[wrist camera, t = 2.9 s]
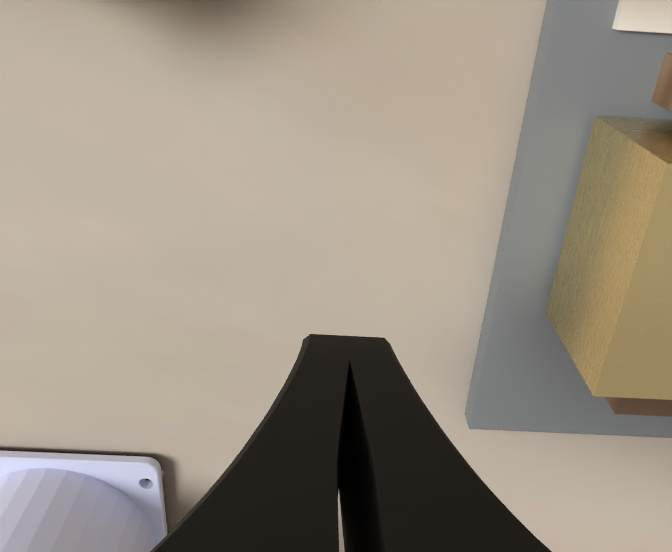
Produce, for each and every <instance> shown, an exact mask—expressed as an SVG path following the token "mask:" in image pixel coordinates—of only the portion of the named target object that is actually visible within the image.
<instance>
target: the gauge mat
mask: <svg viewBox="0 0 672 552" xmlns="http://www.w3.org/2000/svg"><path fill="white" fill-rule="evenodd" d="M618 3H619V0H547V4H546V9H545V14H544V19H543V24H542V29H541V34H540V39H539V44H538V49H537V54H536V59H535V64H534V69H533V74H532V79H531V84H530V89H529V94H528V99H527V104H526V109H525V114H524V119H523V124H522V129H521V134H520V139H519V144H518V149H517V155H516V160H515V165H514V170H513V175H512V180H511V185H510V190H509V195H508V200H507V205H506V210H505V215H504V220H503V225H502V230H501V235H500V240H499V245H498V250H497V255H496V260H495V265H494V270H493V275H492V280H491V285H490V290H489V295H488V300H487V305H486V310H485V315H484V320H483V325H482V330H481V335H480V341H479V346H478V351H477V356H476V361H475V366H474V371H473V376H472V381H471V386H470V391H469V396H468V401H467V406H466V411H465V415H466V419H467V423H468V426H469V429H484V430H507V431H529V432H552V433H574V434H597V435H620V436H642V437H665V438H672V417H667V416H645V415H623V414H614V412H613V410H612V409H611V407H610V405H609V403H608V402H607V400H606V398H605V397H598V396H593V395H592V393H591V391H590V390H589V388H588V386H587V384H586V383H585V381H584V379H583V377H582V376H581V374H580V372H579V370H578V369H577V367H576V365H575V363H574V362H573V360H572V358H571V356H570V355H569V353H568V351H567V349H566V348H565V346H564V344H563V342H562V340H561V339H560V337H559V335H558V333H557V332H556V330H555V328H554V326H553V325H552V323H551V321H550V319H549V318H548V316H547V314H546V309H547V305H548V301H549V297H550V293H551V289H552V285H553V281H554V277H555V273H556V269H557V265H558V261H559V257H560V253H561V249H562V245H563V241H564V237H565V233H566V229H567V225H568V222H569V218H570V214H571V210H572V206H573V202H574V198H575V194H576V190H577V186H578V182H579V178H580V174H581V170H582V166H583V162H584V158H585V154H586V150H587V146H588V142H589V138H590V134H591V130H592V126H593V122H594V118H595V116H605V117H622V118H639V119H656V120H672V111H670V110H668V109H666V108H664V107H662V106H660V105H658V104H656V103H654V102H652V101H651V100H652V97H653V93H654V90H655V86H656V83H657V80H658V76H659V73H660V69H661V66H662V62H663V59H664V56H665V53H670V54H672V33H658V32H642V31H625V30H615V29H612V27H613V23H614V19H615V15H616V11H617V7H618Z"/></svg>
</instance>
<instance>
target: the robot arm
mask: <svg viewBox="0 0 672 552" xmlns="http://www.w3.org/2000/svg"><path fill="white" fill-rule="evenodd" d="M145 478H146V479H149V480H151V481H148V480H145ZM338 490H339V494H340V505H341V516H342V527H343V538H344V548H345V552H551V551H550V550H549V549H548V548H547V547H546V546H545V545H544V544H543V543H541V542H540V541H539V540H538V539H537V538H536V537H535V536H534V535H533V534H532V533H531V532H530V531H529V530H528V529H527V528H526V527H525V526H524V525H523V524H522V523H521V522H520V521H519V520H518V519H517V518H516V517H515V516H514V515H513V514H512V513H511V512H510V511H509V510H508V509H507V508H506V506H505V505H504V504H503V503H502V502H501V501H500V500H499V499H498V498H497V497H496V496H495V495H494V493H493V492H492V491H491V490H490V489H489V488H488V487H487V486H486V484H485V483H484V482H483V481H482V480H481V479H480V477H479V476H478V475H477V474H476V473H475V471H474V470H473V469H472V468H471V467H470V465H469V464H468V463H467V462H466V460H465V459H464V458H463V457H462V455H461V454H460V453H459V451H458V450H457V449H456V448H455V446H454V445H453V444H452V442H451V441H450V440H449V438H448V437H447V436H446V434H445V433H444V432H443V430H442V429H441V428H440V426H439V425H438V423H437V422H436V420H435V419H434V417H433V416H432V414H431V413H430V411H429V410H428V408H427V407H426V406H425V404H424V403H423V401H422V400H421V398H420V397H419V395H418V393H417V392H416V390H415V389H414V387H413V385H412V384H411V382H410V380H409V379H408V377H407V375H406V374H405V372H404V370H403V368H402V367H401V365H400V363H399V361H398V359H397V357H396V355H395V353H394V351H393V349H392V347H391V345H390V344H389V342H388V341H387V340H386V339H385V338H378V337H358V336H338V335H317V334H310V335H309V336H307V337H306V338H305V339H303V343H302V347H301V350H300V352H299V355H298V358H297V360H296V362H295V364H294V366H293V369H292V370H291V372H290V374H289V376H288V378H287V380H286V382H285V384H284V386H283V387H282V389H281V391H280V392H279V394H278V396H277V398H276V399H275V401H274V403H273V404H272V406H271V408H270V409H269V411H268V413H267V414H266V416H265V417H264V419H263V420H262V422H261V423H260V424H259V426H258V427H257V429H256V430H255V432H254V433H253V434H252V436H251V437H250V439H249V440H248V442H247V443H246V444H245V446H244V447H243V449H242V450H241V451H240V453H239V454H238V455H237V457H236V458H235V459H234V461H233V462H232V463H231V464H230V466H229V467H228V468H227V469H226V471H225V472H224V473H223V474H222V476H221V477H220V478H219V479H218V480H217V481H216V483H215V484H214V485H213V486H212V487H211V488H210V490H209V491H208V492H207V493H206V494H205V495H204V497H203V498H202V499H201V500H200V501H199V502H198V503H197V504H196V505H195V506H194V507H193V508H192V509H191V510H190V512H189V513H188V514H187V515H186V516H185V517H184V518H183V519H182V520H181V521H180V522H179V523H178V524H177V525H176V526H175V527H174V528H173V529H172V531H171V532H170V533H169V534H168V533H167V523H166V513H165V503H164V493H163V483H162V473H161V466H160V464H159V463H158V461H157V460H155V459H153V458H150V457H140V456H116V455H93V454H69V453H46V452H22V451H0V552H339V533H338Z"/></svg>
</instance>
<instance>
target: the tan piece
mask: <svg viewBox="0 0 672 552" xmlns="http://www.w3.org/2000/svg"><path fill="white" fill-rule="evenodd" d="M546 314H547V316H548V318H549V319H550V321H551V323H552V325H553V326H554V328H555V330H556V332H557V333H558V335H559V337H560V339H561V340H562V342H563V344H564V346H565V348H566V349H567V351H568V353H569V355H570V356H571V358H572V360H573V362H574V363H575V365H576V367H577V369H578V370H579V372H580V374H581V376H582V377H583V379H584V381H585V383H586V384H587V386H588V388H589V390H590V391H591V393H592V395H593V396H598V397H620V398H641V399H663V400H672V120H656V119H639V118H622V117H605V116H595V118H594V122H593V126H592V130H591V134H590V138H589V142H588V146H587V150H586V154H585V158H584V162H583V166H582V170H581V174H580V178H579V182H578V186H577V190H576V194H575V198H574V202H573V206H572V210H571V214H570V218H569V222H568V225H567V229H566V233H565V237H564V241H563V245H562V249H561V253H560V257H559V261H558V265H557V269H556V273H555V277H554V281H553V285H552V289H551V293H550V297H549V301H548V305H547V309H546Z"/></svg>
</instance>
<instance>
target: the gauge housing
mask: <svg viewBox="0 0 672 552" xmlns="http://www.w3.org/2000/svg"><path fill="white" fill-rule="evenodd" d="M612 29H615V30H625V31H642V32H658V33H672V0H619V3H618V7H617V11H616V15H615V19H614V23H613V27H612ZM651 101H652V102H654V103H656V104H658V105H660V106H662V107H664V108H666V109H668V110H670V111H672V54H670V53H665V56H664V59H663V62H662V66H661V69H660V73H659V76H658V80H657V83H656V86H655V90H654V93H653V97H652V100H651ZM605 398H606V400H607V402H608V403H609V405H610V407H611V409H612V410H613V412H614V414H623V415H645V416H667V417H672V400H663V399H641V398H620V397H605Z"/></svg>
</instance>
